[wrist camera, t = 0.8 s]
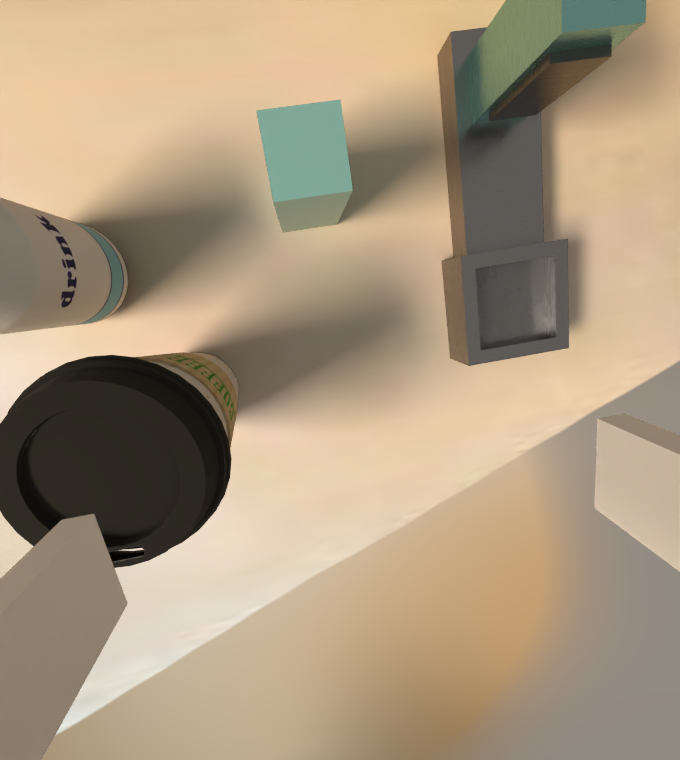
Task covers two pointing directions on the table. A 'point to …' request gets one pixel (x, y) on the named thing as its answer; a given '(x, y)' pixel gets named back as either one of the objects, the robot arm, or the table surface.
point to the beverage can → (55, 271)
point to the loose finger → (306, 163)
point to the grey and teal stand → (512, 168)
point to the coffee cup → (121, 449)
